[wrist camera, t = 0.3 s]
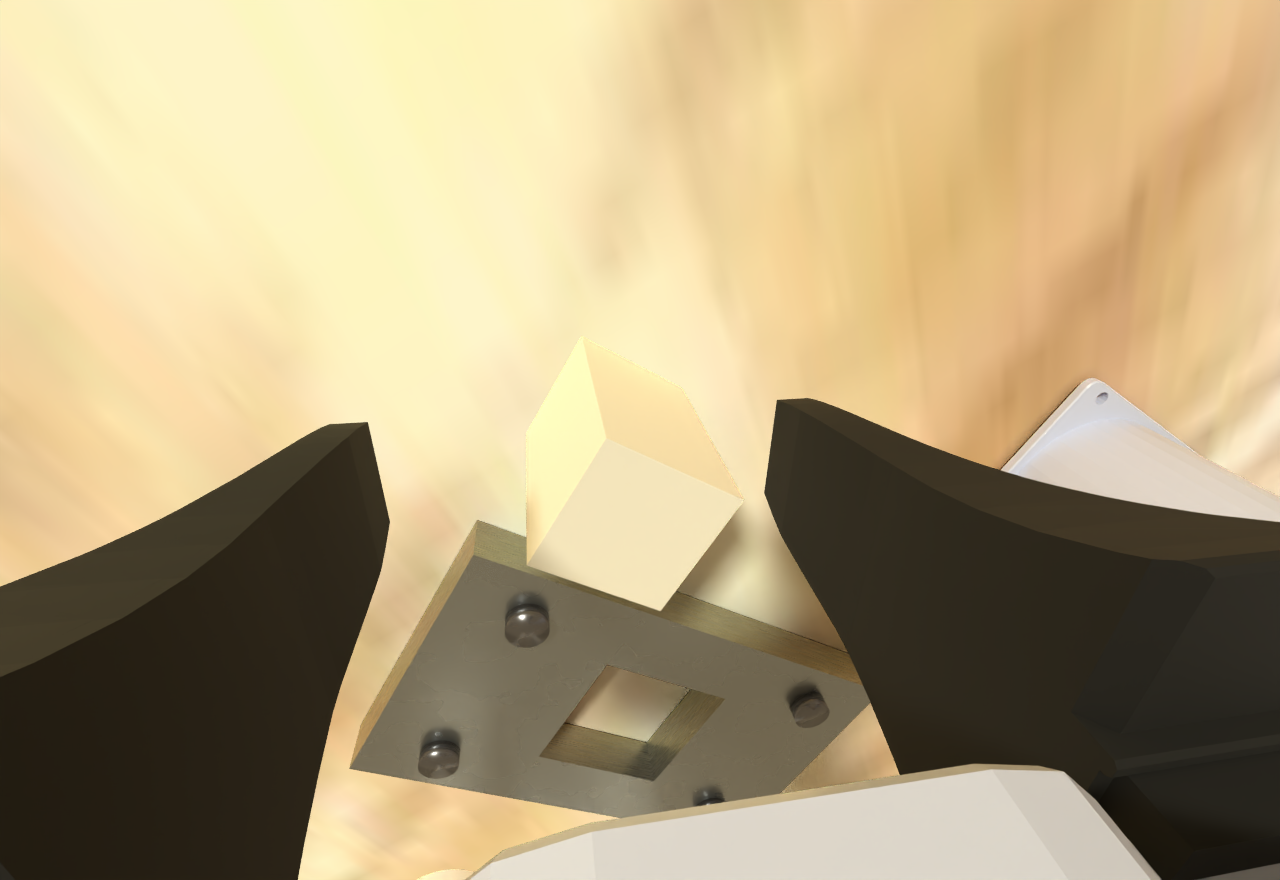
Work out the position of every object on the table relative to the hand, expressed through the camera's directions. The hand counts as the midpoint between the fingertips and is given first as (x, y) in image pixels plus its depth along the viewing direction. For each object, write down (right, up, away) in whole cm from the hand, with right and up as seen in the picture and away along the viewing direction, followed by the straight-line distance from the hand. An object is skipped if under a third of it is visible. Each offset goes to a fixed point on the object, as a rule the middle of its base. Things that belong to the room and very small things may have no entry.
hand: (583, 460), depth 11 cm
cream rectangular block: (0, +1, +10) cm, 10 cm away
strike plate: (0, -11, +17) cm, 21 cm away
